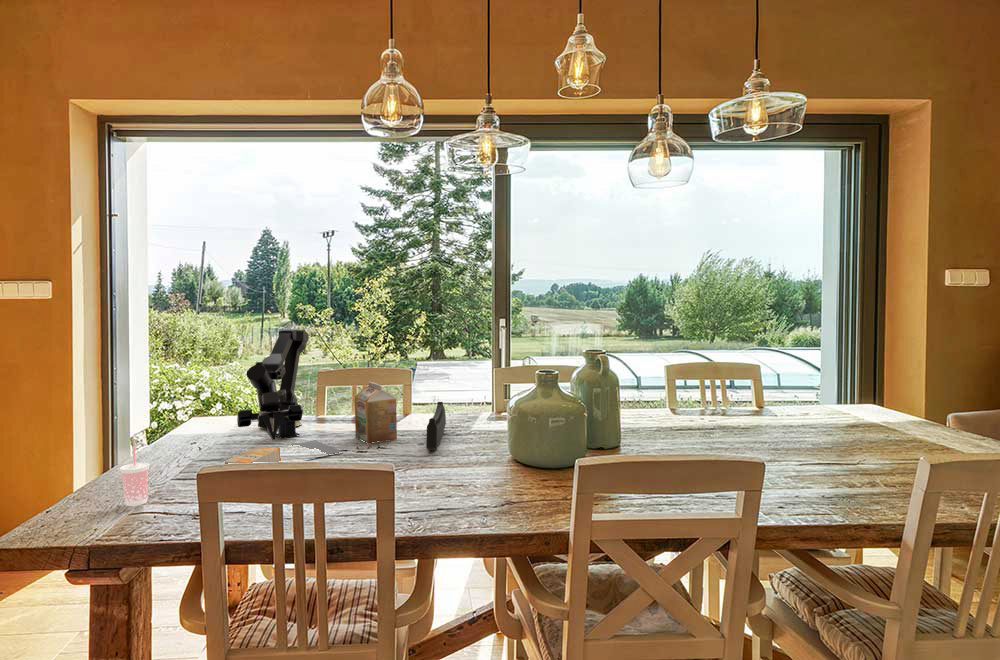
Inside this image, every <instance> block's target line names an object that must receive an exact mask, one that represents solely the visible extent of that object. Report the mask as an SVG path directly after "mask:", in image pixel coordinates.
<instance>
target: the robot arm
mask: <svg viewBox="0 0 1000 660" xmlns="http://www.w3.org/2000/svg"><path fill="white" fill-rule="evenodd" d="M309 335H310V334H309V333H308V332H307V331H306V330H305V329H293V328H287V329H286V328H283V329H282V328H281V329H280V330H279V331H278V337H277V339H276V340H275V341H276V342H275V343H274V345H273V348H272V350H271V352H270V354H269V356H267V357H265V358H263V359H262V361H256V362H255V364H254V365H252V366H251V367H250V368H248V369H247V371H246V377H247V379H248V380H249V382H250V383H251V385H252V386H253V388H255V389H256V392H257V399H258V407H259V411H258V412H256V413H253V409H252V408H248V409H240V410H238V411H237V415H236V417H237V419H236V421H237V427H238V428H243V427H244V428H245V427H246V428H247V427H250V425H252V421H257V427H258V428H260V427H262V428H263V429H264V430H263V431H265V432H266V434H267V435H268V436H269V437H270V439H271V440H276V438H277V436H279V437H278V438H280V437H281V438H280V439H285V438H284V437H288V438H292V437H291V436H294V437H298V436H297V435H299V436H300V435H301V434H300V433H298V432H296V431H297V430H296V429H297V427H296V422H295V421H299V422H300V421H302V418H303V413H304V408H303V407H304V406H302V404H299V402H298V397H297V396H296V394H295V387H296V381H297V375H298V369H299V362H300V356H301V354H302V352H303V351H304V350H306V347H307V344H308V342H309V340H310V339H309ZM275 380H277V381H278V380H279V381H281V382H280V386H279V387H280V388H279V389H278V391H277V383H276V382H275ZM270 418H272V419H274V421H273V430H272V426H271V423H270ZM276 435H277V436H276Z"/></svg>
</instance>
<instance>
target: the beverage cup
mask: <svg viewBox="0 0 1000 660" xmlns="http://www.w3.org/2000/svg"><path fill="white" fill-rule="evenodd" d="M136 458H137V457H136V445H132V459H133V461H132V462H133V463H132V462H131V463H128V464H127V463H126V464H125V465H122V466H120V467H119V473H121V480H122V489H123V497H124V505H125V506H127V507H136V506H141V505H143V504H146V503H147V502H148V491H149V489H148V488H149V486H148V485H149V484H148V483H149V469H150V463H148V462H137V461H136Z"/></svg>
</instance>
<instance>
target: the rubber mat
mask: <svg viewBox="0 0 1000 660" xmlns="http://www.w3.org/2000/svg"><path fill="white" fill-rule="evenodd" d="M291 445H292V446H293V445H300V446H302V447H306V448H309V449H314V448H316V449H319V450H321V452H324V453H325V452H326V454H328V455H329V454H335V453H339V452H343V453H344V451H343V450H340V449H337V448H335V447H332V446H331V445H328V444H325V443H323V442H321V441H318V440H316V439H315V440H314V439H313V440H308V441H304V442H303V441H302V442H297V443H293V444H291Z"/></svg>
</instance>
